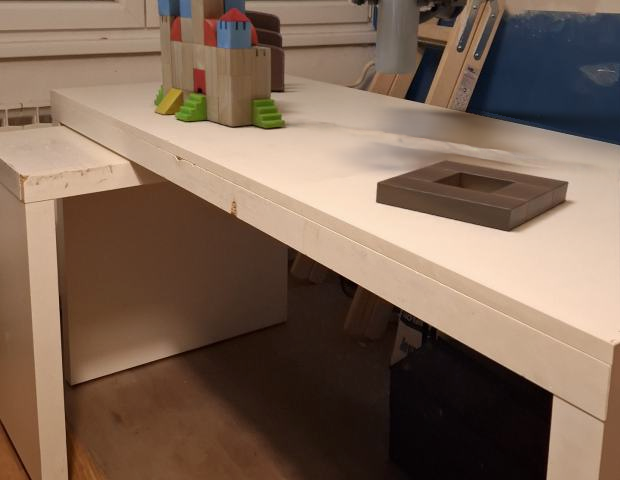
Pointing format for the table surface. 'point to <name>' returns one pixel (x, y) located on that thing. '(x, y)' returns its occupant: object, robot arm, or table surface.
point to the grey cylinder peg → (397, 36)
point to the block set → (214, 65)
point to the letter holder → (270, 44)
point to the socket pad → (473, 193)
